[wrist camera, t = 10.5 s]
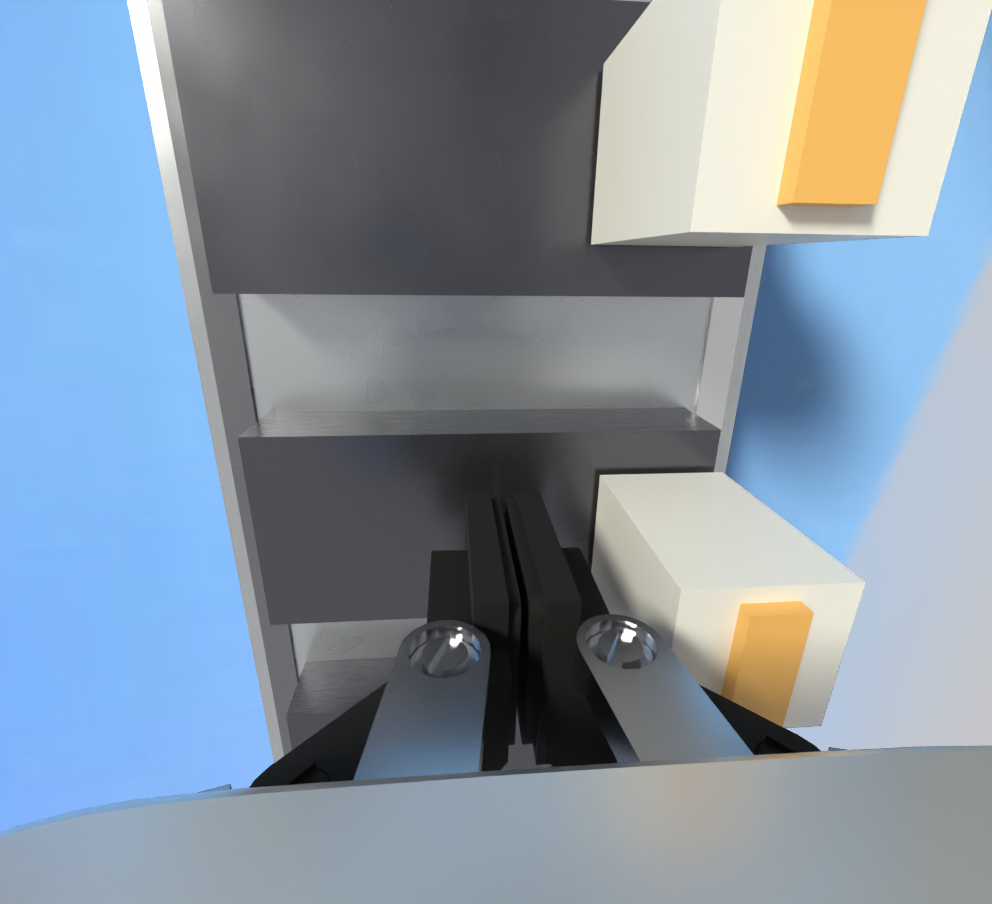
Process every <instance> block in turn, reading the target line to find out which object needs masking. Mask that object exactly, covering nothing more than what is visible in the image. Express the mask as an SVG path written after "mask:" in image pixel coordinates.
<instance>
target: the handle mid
mask: <svg viewBox="0 0 992 904" xmlns="http://www.w3.org/2000/svg"><path fill="white" fill-rule="evenodd" d="M591 573H592V575H593V578H594V580H595V582H596V584H597V586H598V589H599V591H600V593H601V595H602V597H603V600H604V602H605V604H606V606H607V608H608V611H609V613H610V614H617V615H623V616H628V617H631V618H634V619H637V620H639V621H642V622H643V623H645V624H647V625H648V626H650V627H652V628H653V629H654V630H655V631H656V632H657V633H658V634H659V635H660V636H661V637H662V638H663V639H664V641H665V642H666V643H667V645H668V646H669V647H670V648H671V650H672V651H673V652H674V653H675V655H676V656H677V657H678V659H679V660H680V661H681V662H682V664H683V665H684V666H685V668H686V669H687V670H688V671H689V673H690V674H691V675H692V676H693V678H694V679H695V680H696V682H697V683H698V684H699V685H701V686H703V687H705V688H707V689H709V690H711V691H713V692H715V693H717V694H719V695H721V696H723V697H725V698H727V699H729V700H731V701H733V702H734V703H736V704H738V705H740V706H742V707H744V708H746V709H748V710H750V711H752V712H754V713H756V714H758V715H760V716H762V717H764V718H766V719H768V720H770V721H772V722H774V723H775V724H777V725H779V726H781V727H783V728H795V727H811V726H821V725H822V722H823V718H824V715H825V712H826V709H827V705H828V702H829V699H830V696H831V693H832V689H833V686H834V683H835V680H836V676H837V673H838V670H839V667H840V664H841V660H842V657H843V654H844V651H845V648H846V644H847V641H848V638H849V635H850V631H851V628H852V625H853V622H854V618H855V615H856V612H857V609H858V606H859V602H860V599H861V596H862V593H863V589H864V586H865V583H866V582H864V581H863V580H862V579H861V578H859V577H858V576H857V575H856V574H854V573H853V572H852V571H850V570H849V569H848V568H846V567H845V566H844V565H843V564H841V563H840V562H839V561H837V560H836V559H835V558H833V557H832V556H831V555H830V554H828V553H827V552H826V551H824V550H823V549H822V548H820V547H819V546H818V545H817V544H815V543H814V542H813V541H811V540H810V539H809V538H807V537H806V536H805V535H804V534H802V533H801V532H800V531H798V530H797V529H796V528H794V527H793V526H792V525H791V524H789V523H788V522H787V521H785V520H784V519H783V518H781V517H780V516H779V515H778V514H776V513H775V512H774V511H772V510H771V509H770V508H768V507H767V506H766V505H765V504H763V503H762V502H761V501H759V500H758V499H757V498H756V497H754V496H753V495H752V494H750V493H749V492H748V491H746V490H745V489H744V488H743V487H741V486H740V485H739V484H737V483H736V482H735V481H733V480H732V479H731V478H730V477H728V476H727V475H726V474H724V473H723V472H709V473H664V474H620V475H600V479H599V491H598V502H597V513H596V524H595V535H594V547H593V558H592V569H591Z"/></svg>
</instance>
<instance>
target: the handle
mask: <svg viewBox="0 0 992 904" xmlns="http://www.w3.org/2000/svg"><path fill="white" fill-rule="evenodd" d="M991 10H992V0H653V1H652V2H651V3H650V4H649V6H648V7H647V8H646V10H645V11H644V12H643V13H642V15H641V16H640V17H639V19H638V20H637V21H636V23H635V24H634V25H633V26H632V28H631V29H630V30H629V32H628V33H627V34H626V36H625V37H624V38H623V39H622V41H621V42H620V43H619V45H618V46H617V47H616V49H615V50H614V51H613V52H612V54H611V55H610V56H609V58H608V59H607V60H606V61H605V63H604V66H603V80H602V95H601V109H600V123H599V137H598V151H597V165H596V180H595V194H594V208H593V222H592V236H591V245H648V246H712V247H741V246H759V245H777V244H795V243H813V242H831V241H849V240H867V239H885V238H903V237H921V236H928V233H929V229H930V226H931V222H932V219H933V215H934V212H935V208H936V205H937V201H938V198H939V194H940V190H941V187H942V183H943V180H944V176H945V173H946V169H947V166H948V162H949V159H950V155H951V151H952V148H953V144H954V141H955V137H956V134H957V130H958V127H959V123H960V120H961V116H962V112H963V109H964V105H965V102H966V98H967V95H968V91H969V88H970V84H971V81H972V77H973V73H974V70H975V66H976V63H977V59H978V56H979V52H980V49H981V45H982V42H983V38H984V34H985V31H986V27H987V24H988V20H989V17H990V13H991Z"/></svg>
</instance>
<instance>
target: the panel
mask: <svg viewBox="0 0 992 904" xmlns="http://www.w3.org/2000/svg"><path fill="white" fill-rule="evenodd" d="M127 1H128V7H129V12H130V17H131V22H132V27H133V33H134V38H135V43H136V48H137V53H138V59H139V64H140V69H141V74H142V79H143V84H144V90H145V95H146V100H147V105H148V110H149V116H150V121H151V126H152V131H153V136H154V142H155V147H156V152H157V157H158V162H159V167H160V173H161V178H162V183H163V188H164V193H165V199H166V204H167V209H168V214H169V219H170V225H171V230H172V235H173V240H174V245H175V250H176V256H177V261H178V266H179V271H180V276H181V282H182V287H183V292H184V297H185V302H186V308H187V313H188V318H189V323H190V328H191V333H192V339H193V344H194V349H195V354H196V359H197V365H198V370H199V375H200V380H201V385H202V391H203V396H204V401H205V406H206V411H207V416H208V422H209V427H210V432H211V437H212V442H213V448H214V453H215V458H216V463H217V468H218V474H219V479H220V484H221V489H222V494H223V499H224V505H225V510H226V515H227V520H228V525H229V531H230V536H231V541H232V546H233V551H234V557H235V562H236V567H237V572H238V577H239V582H240V588H241V593H242V598H243V603H244V608H245V614H246V619H247V624H248V629H249V634H250V640H251V645H252V650H253V655H254V660H255V665H256V671H257V676H258V681H259V686H260V691H261V697H262V702H263V707H264V712H265V717H266V723H267V728H268V733H269V738H270V743H271V748H272V754H273V759H274V763H275V762H276V761H278V760H279V759H281V758H282V757H283V756H285V755H286V754H288V753H289V752H290V751H292V750H293V749H294V748H296V747H297V746H299V745H300V744H301V743H303V742H304V741H306V740H307V739H308V738H310V737H311V736H313V735H314V734H315V733H317V732H318V731H319V730H321V729H322V728H324V727H325V726H326V725H328V724H329V723H331V722H332V721H333V720H335V719H336V718H337V717H339V716H340V715H342V714H343V713H344V712H346V711H347V710H349V709H350V708H351V707H353V706H354V705H355V704H357V703H358V702H360V701H361V700H362V699H364V698H365V697H367V696H368V695H369V694H371V693H372V692H373V691H375V690H376V689H378V688H379V687H380V686H382V685H383V684H385V683H386V682H387V681H388V678H389V675H390V673H391V670H392V667H393V664H394V661H395V658H396V655H397V652H398V649H399V647H400V645H401V643H402V642H403V640H404V638H405V637H406V636H407V635H408V634H409V633H411V632H412V631H413V630H414V629H416V628H418V627H420V626H422V625H424V624H426V623H427V612H428V597H429V581H430V566H431V552H432V551H439V550H466V493H490V494H491V499H500V502H501V507H502V512H503V517H504V520H505V500H506V499H514V494H515V492H540V494H541V497H542V499H543V502H544V505H545V507H546V510H547V512H548V515H549V517H550V520H551V522H552V525H553V528H554V530H555V533H556V535H557V538H558V540H559V543H560V545H561V548H566V547H578V548H580V550H581V551H582V554H583V556H584V558H585V560H586V562H587V565H588V567H589V569H590V571H591V569H592V558H593V547H594V535H595V524H596V513H597V502H598V491H599V479H600V475H620V474H664V473H709V472H723V473H724V474H725V472H726V467H727V461H728V456H729V450H730V445H731V439H732V434H733V428H734V423H735V417H736V412H737V406H738V401H739V395H740V390H741V384H742V379H743V373H744V368H745V362H746V357H747V351H748V346H749V340H750V335H751V329H752V324H753V318H754V313H755V307H756V302H757V296H758V291H759V285H760V280H761V274H762V269H763V263H764V258H765V252H766V247H767V245H759V246H741V247H712V246H648V245H591V236H592V222H593V208H594V194H595V180H596V165H597V151H598V137H599V123H600V109H601V95H602V80H603V66H604V63H605V61H606V60H607V59H608V58H609V56H610V55H611V54H612V52H613V51H614V50H615V49H616V47H617V46H618V45H619V43H620V42H621V41H622V39H623V38H624V37H625V36H626V34H627V33H628V32H629V30H630V29H631V28H632V26H633V25H634V24H635V23H636V21H637V20H638V19H639V17H640V16H641V15H642V13H643V12H644V11H645V10H646V8H647V7H648V6H649V4H650V3H651V2H652V1H653V0H127ZM546 767H553V766H552V765H551V764H544V765H536V762H535V756H534V750H533V744H526V745H523V744H522V741H521V735H520V728H519V721H518V715H517V712H516V732H515V744H514V745H509V750H508V763H507V764H506V765H505V766H504V767H503V768H502V769H501V770H514V769H530V768H546Z"/></svg>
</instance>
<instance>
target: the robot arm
mask: <svg viewBox="0 0 992 904" xmlns="http://www.w3.org/2000/svg"><path fill="white" fill-rule="evenodd" d="M516 712H517V715H518V721H519V728H520V735H521V741H522V744H523V745H526V744H533V750H534V756H535V762H536V765H544V764H551V765H552V766H553V767H546V768H530V769H514V770H501V769H502V768H503V767H504V766H505V765H506V764H507V763H508V750H509V745H514V744H515V732H516ZM0 904H992V746H938V747H937V746H932V747H901V748H883V749H861V750H846V749H838V748H831V747H829V750H828V751H820V750H819V749H818V748H817V747H816V746H814V745H813V744H812V743H810V742H808V741H807V740H805V739H803V738H802V737H800V736H799V735H797V734H795V733H793V732H791V731H789V730H787V729H785V728H783V727H781V726H779V725H777V724H775V723H774V722H772V721H770V720H768V719H766V718H764V717H762V716H760V715H758V714H756V713H754V712H752V711H750V710H748V709H746V708H744V707H742V706H740V705H738V704H736V703H734V702H733V701H731V700H729V699H727V698H725V697H723V696H721V695H719V694H717V693H715V692H713V691H711V690H709V689H707V688H705V687H703V686H701V685H699V684H698V683H697V682H696V680H695V679H694V678H693V676H692V675H691V674H690V673H689V671H688V670H687V669H686V668H685V666H684V665H683V664H682V662H681V661H680V660H679V659H678V657H677V656H676V655H675V653H674V652H673V651H672V650H671V648H670V647H669V646H668V645H667V643H666V642H665V641H664V639H663V638H662V637H661V636H660V635H659V634H658V633H657V632H656V631H655V630H654V629H653V628H652V627H650V626H648V625H647V624H645V623H643V622H642V621H639V620H637V619H634V618H631V617H628V616H623V615H617V614H610V613H609V611H608V608H607V606H606V604H605V602H604V600H603V597H602V595H601V593H600V591H599V589H598V586H597V584H596V582H595V580H594V578H593V575H592V573H591V571H590V569H589V567H588V565H587V562H586V560H585V558H584V556H583V554H582V551H581V550H580V548H578V547H566V548H561V545H560V543H559V540H558V538H557V535H556V533H555V530H554V528H553V525H552V522H551V520H550V517H549V515H548V512H547V510H546V507H545V505H544V502H543V499H542V497H541V494H540V492H515V494H514V499H506V500H505V520H504V517H503V512H502V507H501V502H500V499H491V494H490V493H466V550H439V551H432V552H431V566H430V581H429V597H428V612H427V623H426V624H424V625H422V626H420V627H418V628H416V629H414V630H413V631H412V632H411V633H409V634H408V635H407V636H406V637H405V638H404V640H403V642H402V643H401V645H400V647H399V649H398V652H397V655H396V658H395V661H394V664H393V667H392V670H391V673H390V675H389V678H388V681H387V682H386V683H385V684H383V685H382V686H380V687H379V688H378V689H376V690H375V691H373V692H372V693H371V694H369V695H368V696H367V697H365V698H364V699H362V700H361V701H360V702H358V703H357V704H355V705H354V706H353V707H351V708H350V709H349V710H347V711H346V712H344V713H343V714H342V715H340V716H339V717H337V718H336V719H335V720H333V721H332V722H331V723H329V724H328V725H326V726H325V727H324V728H322V729H321V730H319V731H318V732H317V733H315V734H314V735H313V736H311V737H310V738H308V739H307V740H306V741H304V742H303V743H301V744H300V745H299V746H297V747H296V748H294V749H293V750H292V751H290V752H289V753H288V754H286V755H285V756H283V757H282V758H281V759H279V760H278V761H276V762H275V763H274V764H272V765H271V766H270V767H269V768H267V769H266V770H265V771H264V772H263V773H262V774H261V775H260V776H259V777H257V778H256V779H255V780H254V782H253V783H252V785H251V786H250V787H249V788H242V789H231V784H228V785H224V786H221V787H217V788H213V789H209V790H205V791H202V792H198V793H192V794H183V795H173V796H164V797H155V798H146V799H136V800H129V801H124V802H119V803H113V804H108V805H103V806H97V807H92V808H86V809H81V810H76V811H72V812H68V813H65V814H61V815H57V816H54V817H50V818H46V819H42V820H39V821H35V822H31V823H27V824H24V825H20V826H16V827H14V828H11V829H8V830H6V831H3V832H0Z"/></svg>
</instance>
